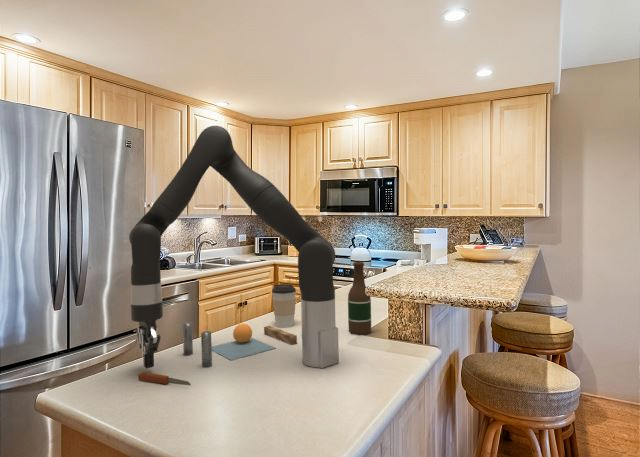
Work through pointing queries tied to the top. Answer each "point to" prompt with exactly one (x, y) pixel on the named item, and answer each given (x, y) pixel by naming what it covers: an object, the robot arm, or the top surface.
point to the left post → (187, 338)
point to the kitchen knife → (160, 379)
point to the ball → (242, 333)
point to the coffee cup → (284, 304)
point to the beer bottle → (359, 304)
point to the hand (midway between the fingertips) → (148, 367)
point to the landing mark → (241, 349)
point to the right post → (206, 349)
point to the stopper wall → (280, 335)
